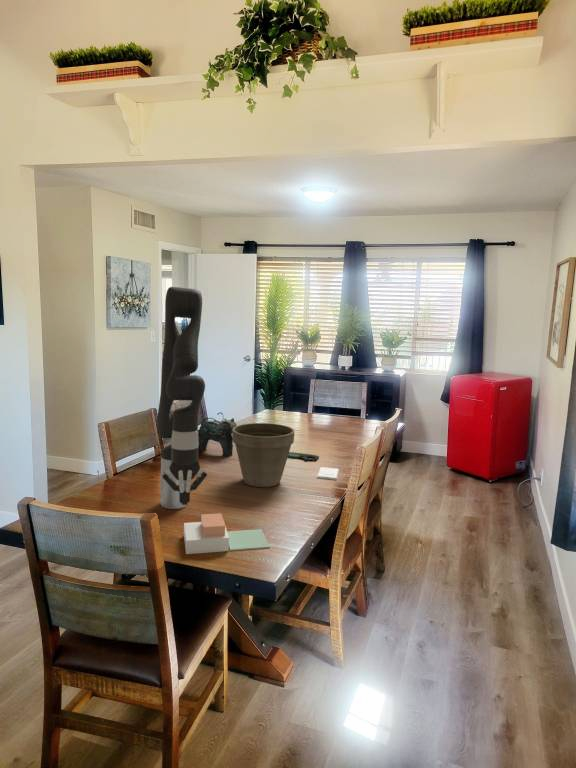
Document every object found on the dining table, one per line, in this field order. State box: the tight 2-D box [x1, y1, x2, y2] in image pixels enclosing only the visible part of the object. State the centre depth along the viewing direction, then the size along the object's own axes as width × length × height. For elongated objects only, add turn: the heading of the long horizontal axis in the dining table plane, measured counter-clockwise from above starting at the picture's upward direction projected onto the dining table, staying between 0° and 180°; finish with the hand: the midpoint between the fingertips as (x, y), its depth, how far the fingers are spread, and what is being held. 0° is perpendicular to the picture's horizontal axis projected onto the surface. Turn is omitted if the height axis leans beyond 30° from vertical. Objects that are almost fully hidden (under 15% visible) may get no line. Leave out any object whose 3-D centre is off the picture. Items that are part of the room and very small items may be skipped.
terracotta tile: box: [200, 512, 226, 537], centre depth 150 cm, size 9×6×3 cm, turn 14°
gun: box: [287, 451, 320, 462], centre depth 241 cm, size 16×1×10 cm
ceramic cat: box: [198, 411, 238, 458], centre depth 240 cm, size 20×6×20 cm, turn 62°
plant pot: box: [232, 422, 295, 488], centre depth 204 cm, size 25×25×22 cm
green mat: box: [227, 528, 270, 552], centre depth 154 cm, size 12×12×1 cm
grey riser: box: [183, 521, 230, 555], centre depth 150 cm, size 12×12×4 cm
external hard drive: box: [316, 466, 340, 481], centre depth 218 cm, size 2×8×12 cm
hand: (184, 503), depth 147 cm, fingers closed
